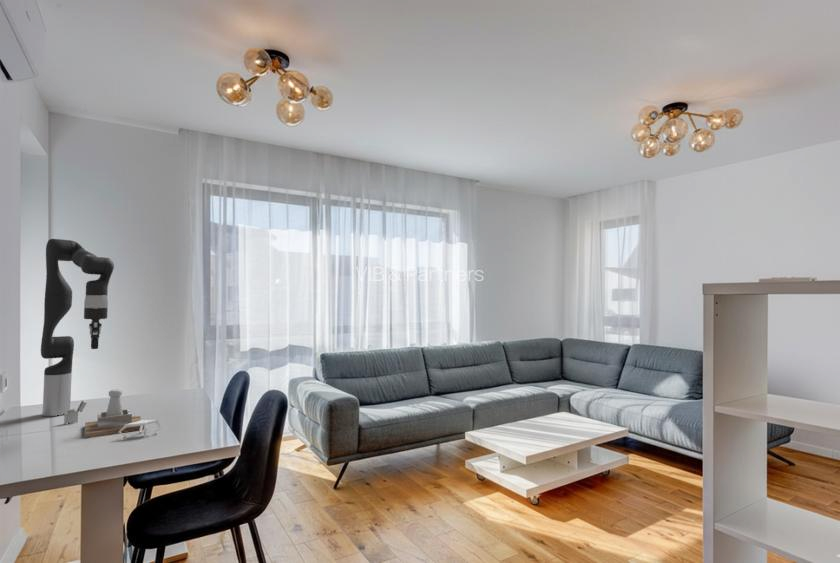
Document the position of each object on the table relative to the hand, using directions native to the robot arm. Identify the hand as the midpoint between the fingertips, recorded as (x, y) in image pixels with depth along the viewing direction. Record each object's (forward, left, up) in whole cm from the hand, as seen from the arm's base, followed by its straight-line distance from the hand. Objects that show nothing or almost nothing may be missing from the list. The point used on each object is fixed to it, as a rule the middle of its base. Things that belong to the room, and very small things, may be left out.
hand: (94, 348), depth 175 cm
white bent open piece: (+27, +14, -30) cm, 43 cm away
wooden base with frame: (+10, +7, -30) cm, 32 cm away
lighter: (-9, -5, -30) cm, 32 cm away
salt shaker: (+10, +7, -29) cm, 31 cm away
